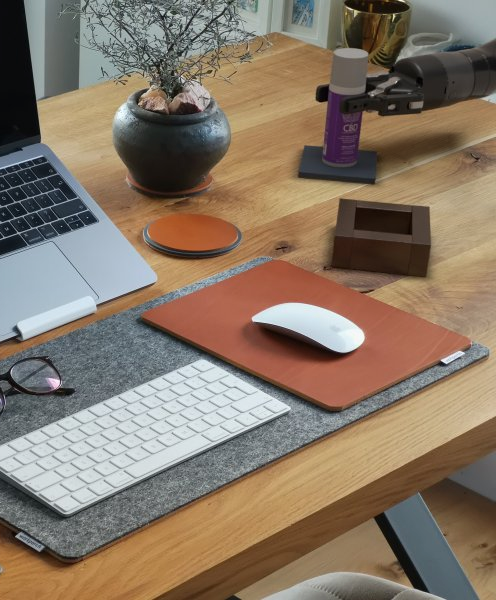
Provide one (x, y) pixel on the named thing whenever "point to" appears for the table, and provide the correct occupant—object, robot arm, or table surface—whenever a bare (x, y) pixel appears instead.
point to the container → (339, 127)
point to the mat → (319, 170)
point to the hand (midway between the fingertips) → (329, 100)
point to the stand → (382, 237)
